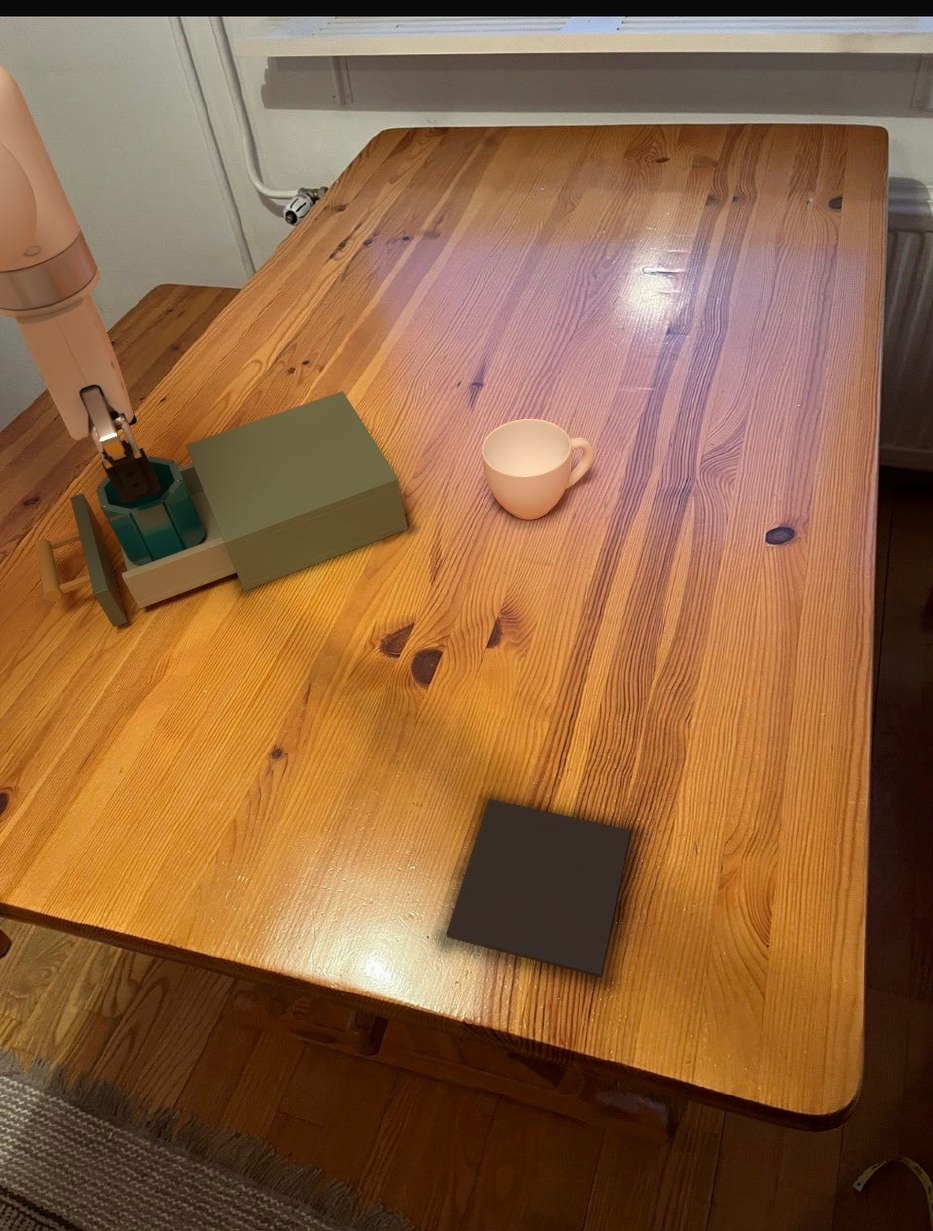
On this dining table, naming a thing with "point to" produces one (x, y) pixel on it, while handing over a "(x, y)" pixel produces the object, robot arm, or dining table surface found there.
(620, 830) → the mat
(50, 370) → the robot arm
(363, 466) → the cabinet
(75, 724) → the dining table surface
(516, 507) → the cup
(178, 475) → the green octagonal cup
